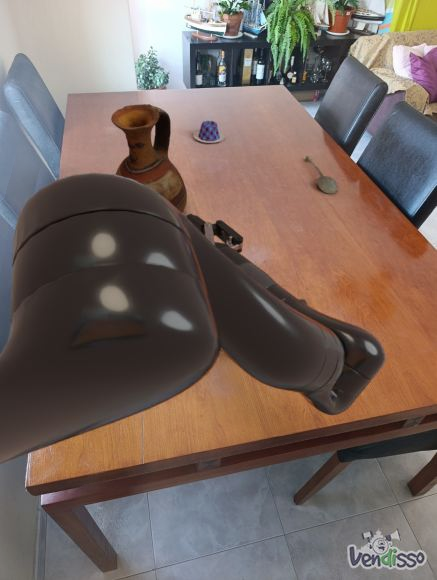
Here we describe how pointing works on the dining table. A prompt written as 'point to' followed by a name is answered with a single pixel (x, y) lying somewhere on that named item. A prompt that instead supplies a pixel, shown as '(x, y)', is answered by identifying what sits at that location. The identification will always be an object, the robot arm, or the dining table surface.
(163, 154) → the ceramic pitcher
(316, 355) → the robot arm
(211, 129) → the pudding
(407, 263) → the dining table surface
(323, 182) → the soupspoon
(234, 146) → the dining table surface
